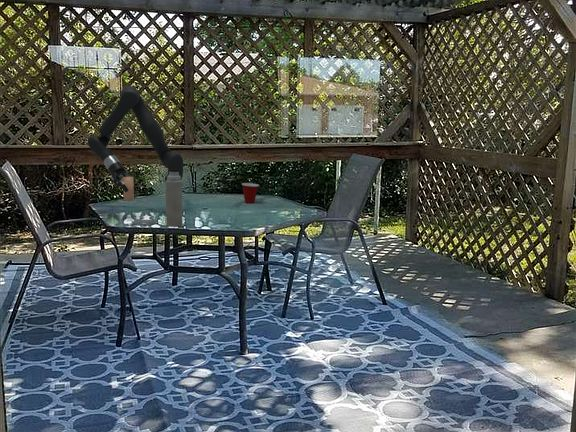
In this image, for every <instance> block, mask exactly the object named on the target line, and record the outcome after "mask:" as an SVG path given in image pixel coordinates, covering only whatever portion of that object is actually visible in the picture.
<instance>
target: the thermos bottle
mask: <svg viewBox="0 0 576 432" xmlns="http://www.w3.org/2000/svg"><path fill="white" fill-rule="evenodd" d="M178 171H179V170H177V169H170V170H169V175H168V176H167V175H166V176H167V181H166V212H165V217H166V219H165V221H166V223H165V224H166V226H167V227H175V228H176V227H181V226H183V213H182V208H183V180H182V181H181V176H179V172H178Z"/></svg>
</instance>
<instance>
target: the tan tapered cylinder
mask: <svg viewBox="0 0 576 432" xmlns="http://www.w3.org/2000/svg"><path fill="white" fill-rule="evenodd" d="M133 177H134V176H133ZM133 177H123V182H124V184H125V185H126V187H127V188H128V191H127V192H125V191H124V190H123V201H127V202H129V201H135V191H134V185H135V182H134V181H133Z"/></svg>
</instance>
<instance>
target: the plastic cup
mask: <svg viewBox="0 0 576 432" xmlns="http://www.w3.org/2000/svg"><path fill="white" fill-rule="evenodd" d="M241 186H242V191H243V192H242V193H243V198H244V203H245V204H251V205H252V204H255V202H256V197H257V192H258V188H259V186H260V184H258V183H251V182H242V183H241Z"/></svg>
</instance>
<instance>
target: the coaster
mask: <svg viewBox="0 0 576 432" xmlns="http://www.w3.org/2000/svg"><path fill="white" fill-rule="evenodd" d="M131 224H132V225H135V226H152V225H154V224H157V221H156V220H154V219H136V220H132V221H131Z"/></svg>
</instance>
